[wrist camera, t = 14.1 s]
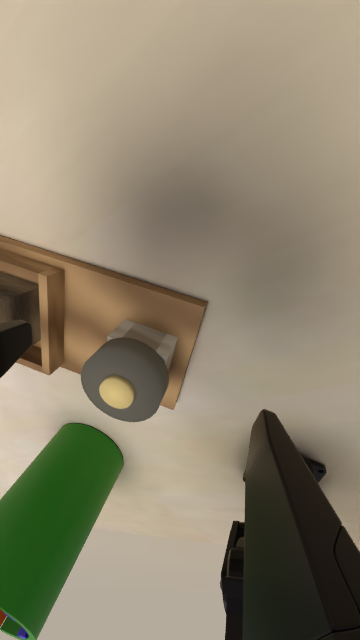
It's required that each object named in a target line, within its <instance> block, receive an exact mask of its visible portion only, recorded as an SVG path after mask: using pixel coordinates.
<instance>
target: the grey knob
mask: <svg viewBox="0 0 360 640" xmlns="http://www.w3.org/2000/svg"><path fill="white" fill-rule="evenodd" d="M81 382H82V386H83V389H84V391H85V393H86V394H87V396H88V398H89V399H90V400H91V401H92V403H93V404H94V405H95V406H96V407H97V408H99V409H100V410H101V411H103V412H104V413H106V414H107V415H109V416H111V417H113V418H116V419H118V420H122V421H127V422H139V421H144V420H146V419H148V418H150V417H151V416H153V415H154V414H155V413H156V411H157V409H158V408H159V405H160V403H161V401H162V399H163V397H164V394H165V392H166V390H167V388H168V384H169V373H168V369H167V367H166V364H165V362H164V361H163V359H162V358H161V356H160V355H159V354H158V353H157V352H156V351H155V350H154V349H153V348H151V347H150V346H148V345H147V344H145V343H143V342H141V341H139V340H136V339H132V338H125V337H121V338H114V339H111V340H109V341H107V342H106V343H104V344H103V345H102V346H101V347H100V348H99V349H98V350H97V351H96V352H95V353H94V354H93V355H92V356H91V357H90V358H89V359H88V360H87V361H86V362H85V363H84V365H83V367H82V370H81Z"/></svg>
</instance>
